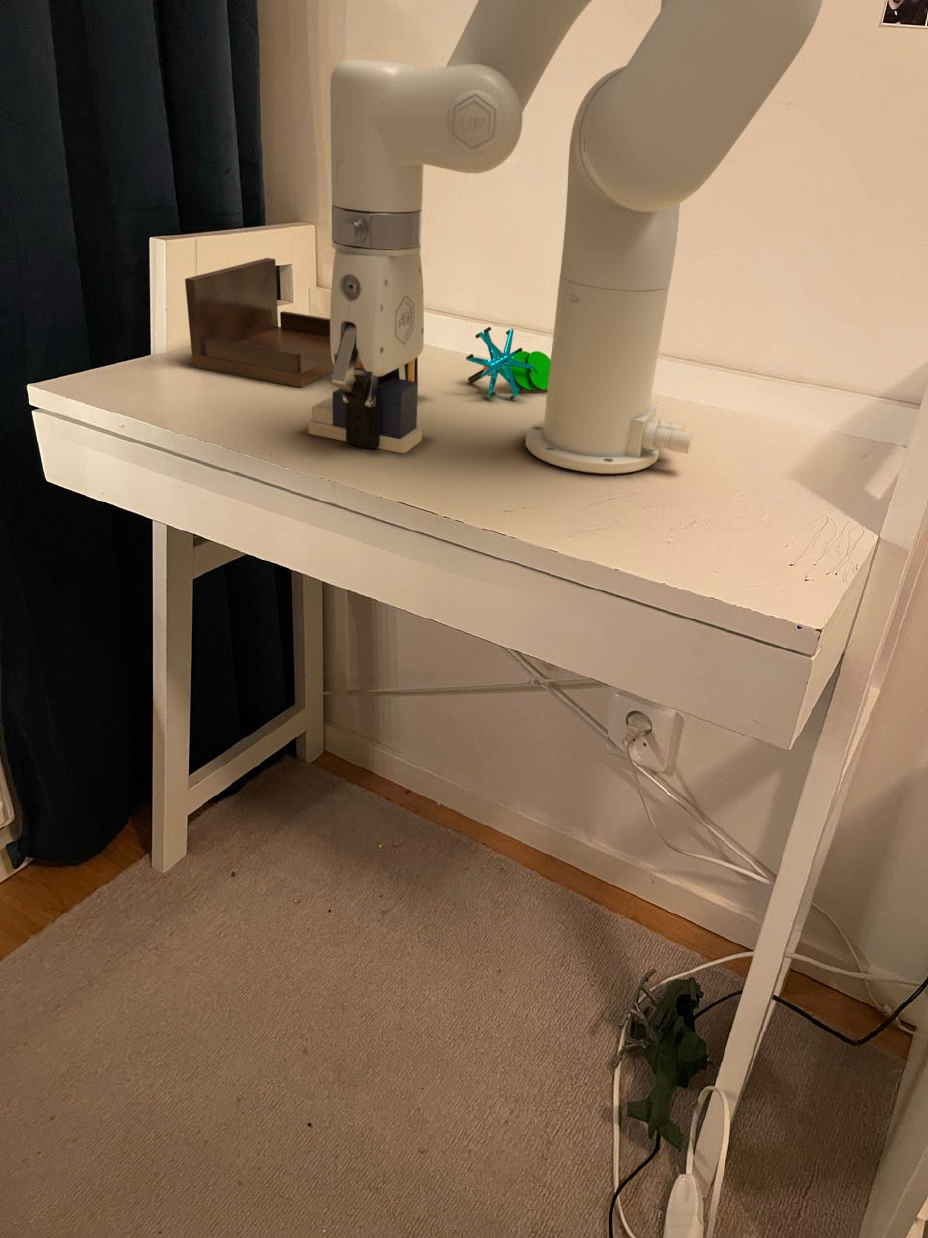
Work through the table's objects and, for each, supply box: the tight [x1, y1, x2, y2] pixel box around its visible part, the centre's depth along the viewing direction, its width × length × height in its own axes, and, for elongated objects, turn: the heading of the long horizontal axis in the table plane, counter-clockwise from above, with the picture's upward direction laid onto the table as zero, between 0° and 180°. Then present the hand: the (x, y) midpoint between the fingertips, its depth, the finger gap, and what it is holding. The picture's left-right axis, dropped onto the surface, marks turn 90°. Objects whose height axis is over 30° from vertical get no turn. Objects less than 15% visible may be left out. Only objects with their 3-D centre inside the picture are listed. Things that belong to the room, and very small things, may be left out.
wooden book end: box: [184, 257, 335, 388], centre depth 106 cm, size 16×14×10 cm
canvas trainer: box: [307, 378, 423, 454], centre depth 87 cm, size 10×4×6 cm, turn 68°
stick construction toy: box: [465, 326, 551, 400], centre depth 103 cm, size 12×7×8 cm
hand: (374, 435), depth 88 cm, fingers closed on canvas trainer, 4 cm apart
